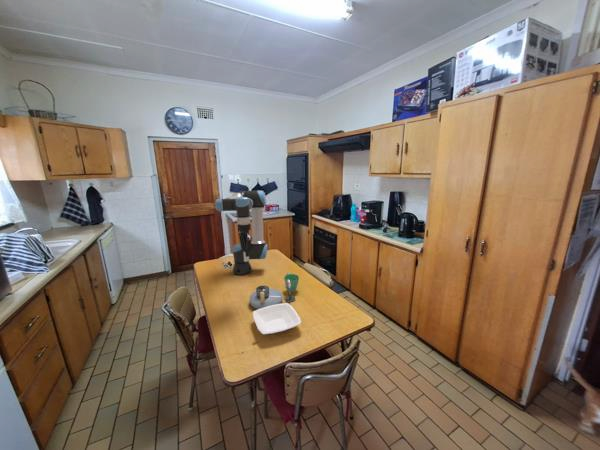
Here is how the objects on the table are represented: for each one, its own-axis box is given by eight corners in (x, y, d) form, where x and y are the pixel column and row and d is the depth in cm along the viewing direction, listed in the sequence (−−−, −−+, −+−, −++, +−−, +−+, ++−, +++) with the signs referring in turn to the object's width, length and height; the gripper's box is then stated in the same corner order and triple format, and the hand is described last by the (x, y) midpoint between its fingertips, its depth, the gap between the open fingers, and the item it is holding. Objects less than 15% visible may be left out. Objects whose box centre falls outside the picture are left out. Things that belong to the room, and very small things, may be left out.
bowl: (261, 347, 114) (261, 336, 112) (250, 319, 135) (250, 310, 133) (304, 333, 122) (304, 323, 121) (288, 309, 143) (288, 300, 142)
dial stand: (284, 299, 154) (284, 279, 151) (291, 297, 156) (291, 277, 153) (288, 302, 150) (287, 282, 146) (295, 300, 152) (294, 280, 149)
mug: (300, 293, 161) (300, 279, 159) (286, 295, 158) (286, 281, 156) (294, 283, 175) (294, 270, 172) (281, 285, 172) (281, 272, 170)
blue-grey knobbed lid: (245, 308, 142) (244, 293, 139) (255, 291, 161) (254, 278, 159) (278, 310, 139) (278, 295, 137) (284, 292, 159) (284, 279, 156)
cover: (255, 299, 146) (254, 291, 145) (258, 292, 154) (257, 285, 153) (268, 299, 146) (267, 291, 145) (270, 292, 154) (270, 285, 153)
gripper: (233, 222, 145) (236, 259, 150) (243, 226, 135) (246, 265, 141) (244, 220, 149) (247, 256, 155) (255, 224, 140) (257, 262, 145)
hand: (246, 260), depth 148 cm, fingers closed
